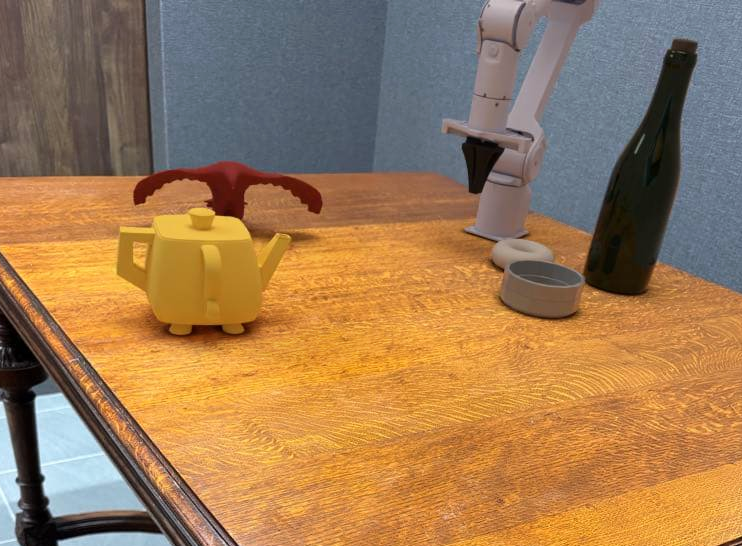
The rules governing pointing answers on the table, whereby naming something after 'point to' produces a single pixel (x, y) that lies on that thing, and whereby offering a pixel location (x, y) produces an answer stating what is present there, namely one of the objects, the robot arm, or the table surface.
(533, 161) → the robot arm
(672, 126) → the wine bottle
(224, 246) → the teapot
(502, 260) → the donut
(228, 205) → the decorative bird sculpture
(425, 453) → the table surface
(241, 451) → the table surface
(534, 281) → the pan
